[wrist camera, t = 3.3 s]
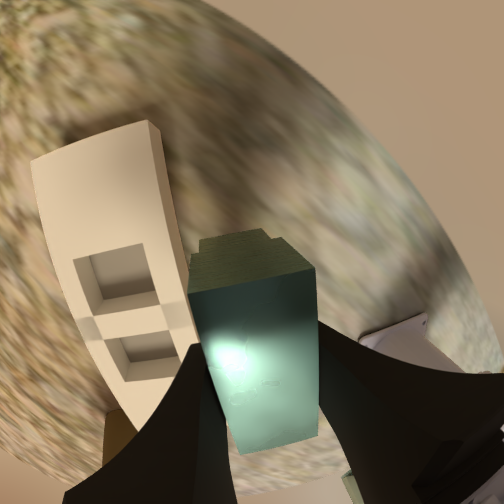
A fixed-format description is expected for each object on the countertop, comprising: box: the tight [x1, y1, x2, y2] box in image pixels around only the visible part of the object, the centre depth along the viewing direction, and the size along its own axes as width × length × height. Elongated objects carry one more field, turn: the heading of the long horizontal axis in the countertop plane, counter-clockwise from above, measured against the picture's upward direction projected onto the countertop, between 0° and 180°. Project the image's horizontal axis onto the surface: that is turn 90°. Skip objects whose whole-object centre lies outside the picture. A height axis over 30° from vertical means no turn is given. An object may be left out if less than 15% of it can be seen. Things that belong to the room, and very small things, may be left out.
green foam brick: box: [187, 228, 319, 455], centre depth 10 cm, size 7×3×6 cm, turn 9°
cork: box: [102, 409, 138, 467], centre depth 16 cm, size 6×6×11 cm
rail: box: [30, 119, 228, 432], centre depth 16 cm, size 20×7×4 cm, turn 9°
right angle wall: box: [341, 469, 364, 504], centre depth 29 cm, size 12×12×8 cm
